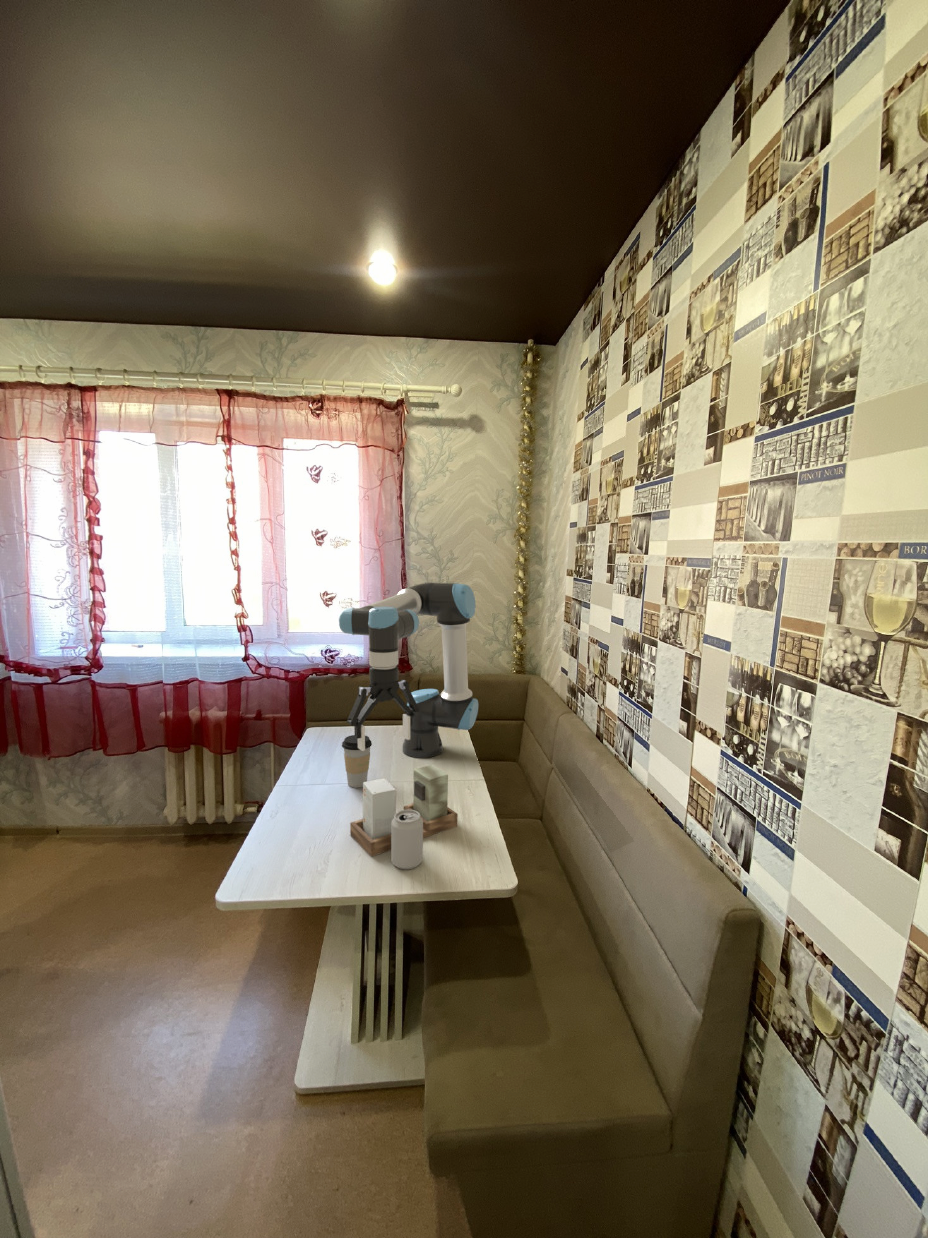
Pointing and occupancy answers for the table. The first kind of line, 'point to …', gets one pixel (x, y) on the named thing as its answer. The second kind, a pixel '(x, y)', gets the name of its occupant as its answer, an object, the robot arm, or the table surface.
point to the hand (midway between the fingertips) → (384, 743)
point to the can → (407, 839)
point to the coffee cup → (356, 761)
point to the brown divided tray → (426, 801)
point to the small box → (378, 808)
